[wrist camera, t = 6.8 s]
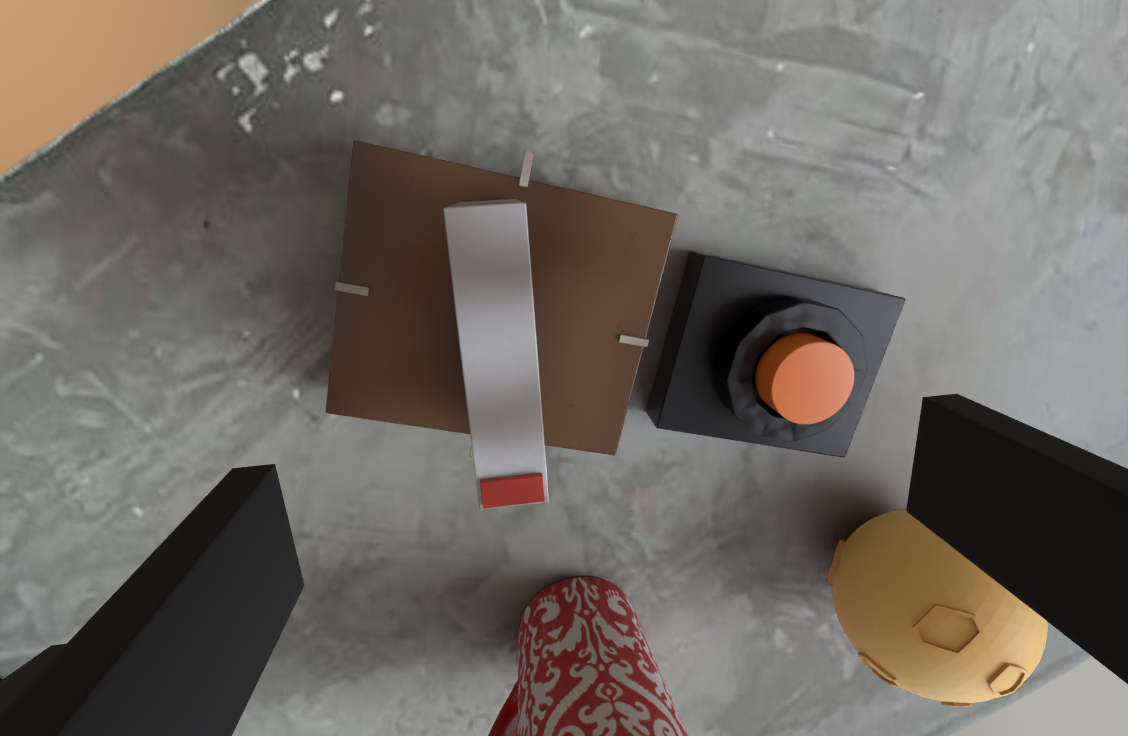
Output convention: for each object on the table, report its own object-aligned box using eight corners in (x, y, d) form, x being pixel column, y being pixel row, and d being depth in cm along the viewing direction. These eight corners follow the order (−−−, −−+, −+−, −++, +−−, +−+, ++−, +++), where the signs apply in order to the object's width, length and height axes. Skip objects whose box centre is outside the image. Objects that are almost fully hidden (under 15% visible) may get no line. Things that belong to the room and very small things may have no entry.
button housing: (645, 412, 31) (666, 443, 27) (689, 250, 29) (719, 259, 25) (823, 441, 33) (865, 473, 29) (878, 291, 30) (932, 305, 27)
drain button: (744, 404, 28) (760, 417, 26) (769, 325, 26) (787, 334, 25) (817, 416, 28) (837, 430, 27) (844, 340, 27) (867, 350, 25)
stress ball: (844, 459, 33) (982, 565, 24) (973, 498, 36) (1148, 610, 26) (773, 595, 36) (873, 739, 26) (898, 624, 38) (1032, 768, 28)
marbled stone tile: (459, 202, 24) (441, 207, 16) (516, 198, 24) (526, 202, 16) (483, 420, 27) (479, 514, 19) (534, 415, 27) (549, 506, 19)
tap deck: (337, 411, 29) (319, 436, 26) (369, 119, 25) (352, 109, 22) (601, 449, 31) (613, 477, 28) (667, 189, 28) (688, 189, 25)
